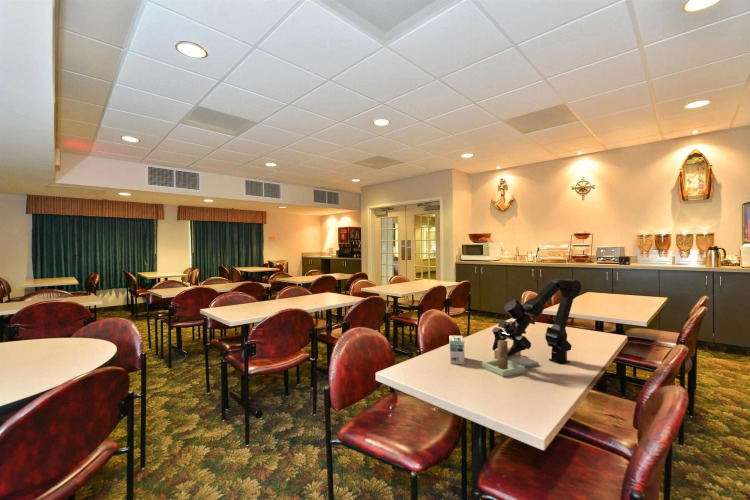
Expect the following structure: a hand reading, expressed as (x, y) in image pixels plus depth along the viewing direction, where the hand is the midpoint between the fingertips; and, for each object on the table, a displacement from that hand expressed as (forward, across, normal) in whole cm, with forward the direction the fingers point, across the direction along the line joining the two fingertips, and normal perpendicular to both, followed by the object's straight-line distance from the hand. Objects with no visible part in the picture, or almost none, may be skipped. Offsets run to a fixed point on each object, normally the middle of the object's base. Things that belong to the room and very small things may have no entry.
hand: (499, 352), depth 142 cm
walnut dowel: (+4, 0, +6) cm, 7 cm away
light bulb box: (+13, -18, -2) cm, 22 cm away
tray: (+4, 0, +6) cm, 8 cm away
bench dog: (-5, -13, +16) cm, 22 cm away
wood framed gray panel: (-5, -5, +17) cm, 19 cm away
